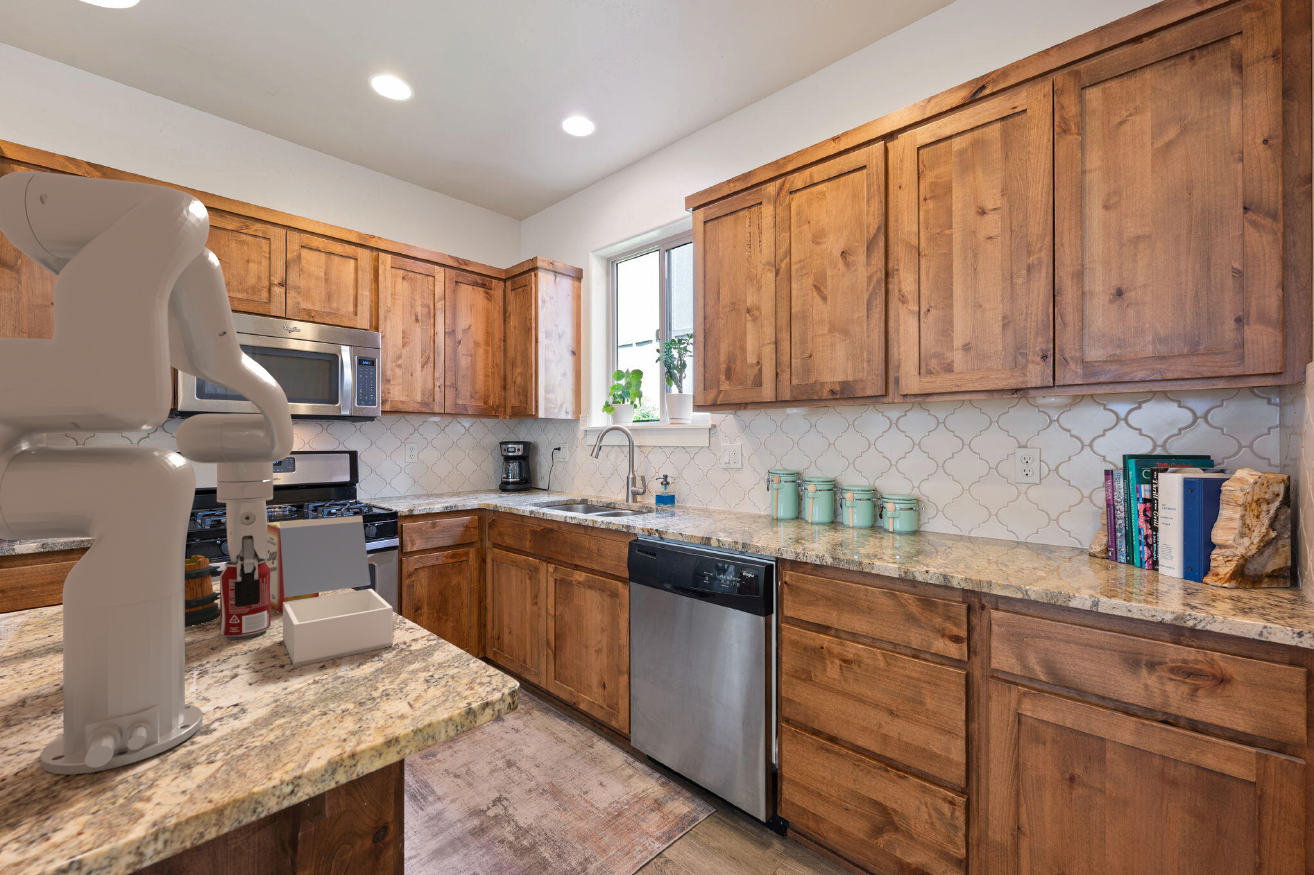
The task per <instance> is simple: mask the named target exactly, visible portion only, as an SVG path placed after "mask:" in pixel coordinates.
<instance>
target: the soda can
mask: <svg viewBox="0 0 1314 875" xmlns="http://www.w3.org/2000/svg"><path fill="white" fill-rule="evenodd" d="M240 561H244V559H240ZM265 562H266V561H263V559H260V558H259V557H258V578H259V579H260V602H259V603H258V604H254V605H247V606H240V607H236V606H235V581H237V566H236V564H234V563H232V562H231V560H230V561H229V560H228V561H226V562H225V563H224V566H225V567H224V569H222V571H221V573H220V574H219V593H220V595H219V597H220V599H219V608H220V617H219V634H220V636H222V637H224V638H227V639H229V640H240V639H241V640H243V639H249V638H253V637H257V636H259V635H262V634H263V633H264V632H265V631H267V630H268V629H270V628H271V624H272V623H271V621H272V620H271V619H272V618H271V612H272V610H271V609H272V608H271V591H270V568H269V567H268V566H267V564H266V563H265ZM241 567H242V566H241Z"/></svg>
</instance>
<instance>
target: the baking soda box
mask: <svg viewBox="0 0 1314 875" xmlns="http://www.w3.org/2000/svg"><path fill="white" fill-rule="evenodd" d="M299 520H300V519H295V520H293V519H292V521H299ZM286 521H287V520H284V521H282V522H286ZM280 522H281V521H274V522H267V539H268V559H267V560H266V562H265V563H266V564H267V566H268V567H269V568H270V591H271V607H272V608H271V609H273V610H274V609H275V611H276V612H277V611H278V613H279V614H283V602H288V601H295V600H301V599H308V598H314V597H320V596H319V595H320V592H318V593H312V594H305V595H298V596H291V597H285V598H284V584H283V568H282V552H281V536H280Z"/></svg>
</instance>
